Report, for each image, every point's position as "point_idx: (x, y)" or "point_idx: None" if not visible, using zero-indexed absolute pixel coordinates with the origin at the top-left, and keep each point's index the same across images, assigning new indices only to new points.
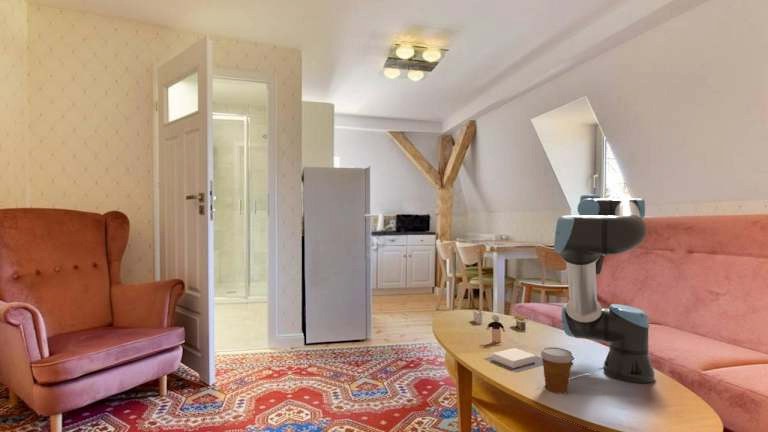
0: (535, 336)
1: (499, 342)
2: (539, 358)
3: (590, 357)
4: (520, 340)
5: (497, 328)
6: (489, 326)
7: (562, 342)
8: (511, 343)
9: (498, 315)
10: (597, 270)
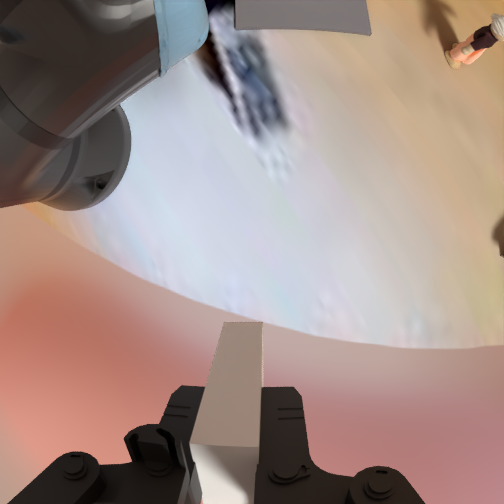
0: (454, 222)
1: (449, 52)
2: (281, 17)
3: (214, 180)
4: (450, 137)
5: (474, 33)
6: (489, 25)
7: (369, 244)
8: (439, 84)
9: (501, 23)
10: (26, 490)
